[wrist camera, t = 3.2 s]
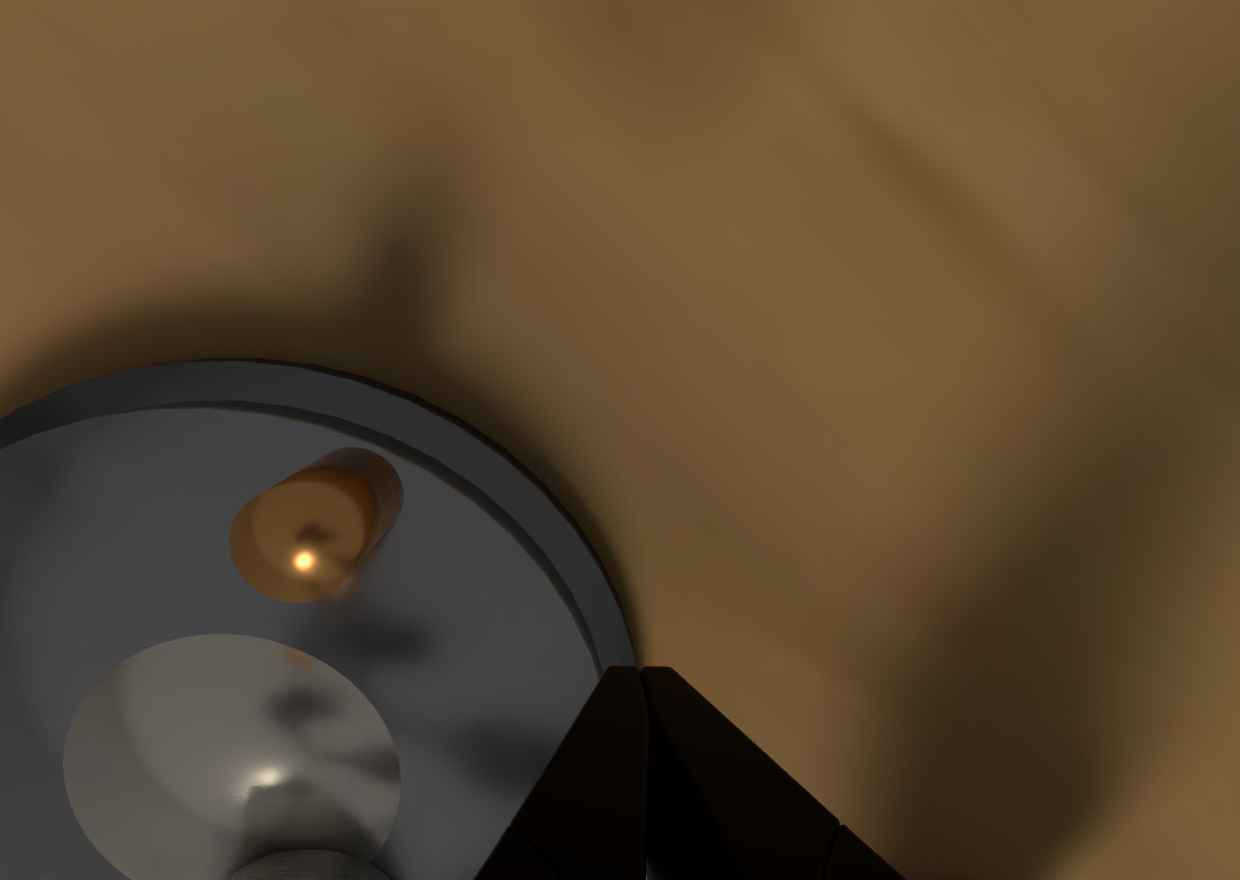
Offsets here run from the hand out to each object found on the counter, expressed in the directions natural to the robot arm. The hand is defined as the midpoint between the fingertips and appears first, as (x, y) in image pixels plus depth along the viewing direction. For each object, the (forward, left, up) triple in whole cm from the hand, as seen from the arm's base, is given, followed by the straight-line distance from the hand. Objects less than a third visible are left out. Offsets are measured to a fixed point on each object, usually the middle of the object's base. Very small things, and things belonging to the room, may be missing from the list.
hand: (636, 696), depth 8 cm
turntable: (+12, +4, -10) cm, 16 cm away
